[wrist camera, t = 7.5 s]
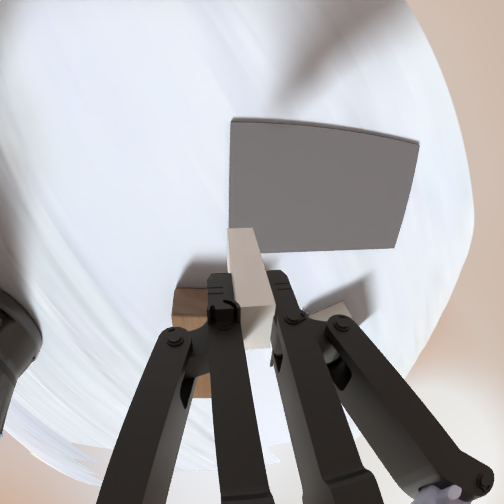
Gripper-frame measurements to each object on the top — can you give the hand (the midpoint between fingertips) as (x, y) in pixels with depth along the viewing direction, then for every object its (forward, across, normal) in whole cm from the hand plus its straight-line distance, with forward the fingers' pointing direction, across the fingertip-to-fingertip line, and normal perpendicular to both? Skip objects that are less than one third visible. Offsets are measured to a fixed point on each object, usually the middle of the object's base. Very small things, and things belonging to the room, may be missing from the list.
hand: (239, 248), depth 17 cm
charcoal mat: (+10, +10, 0) cm, 14 cm away
